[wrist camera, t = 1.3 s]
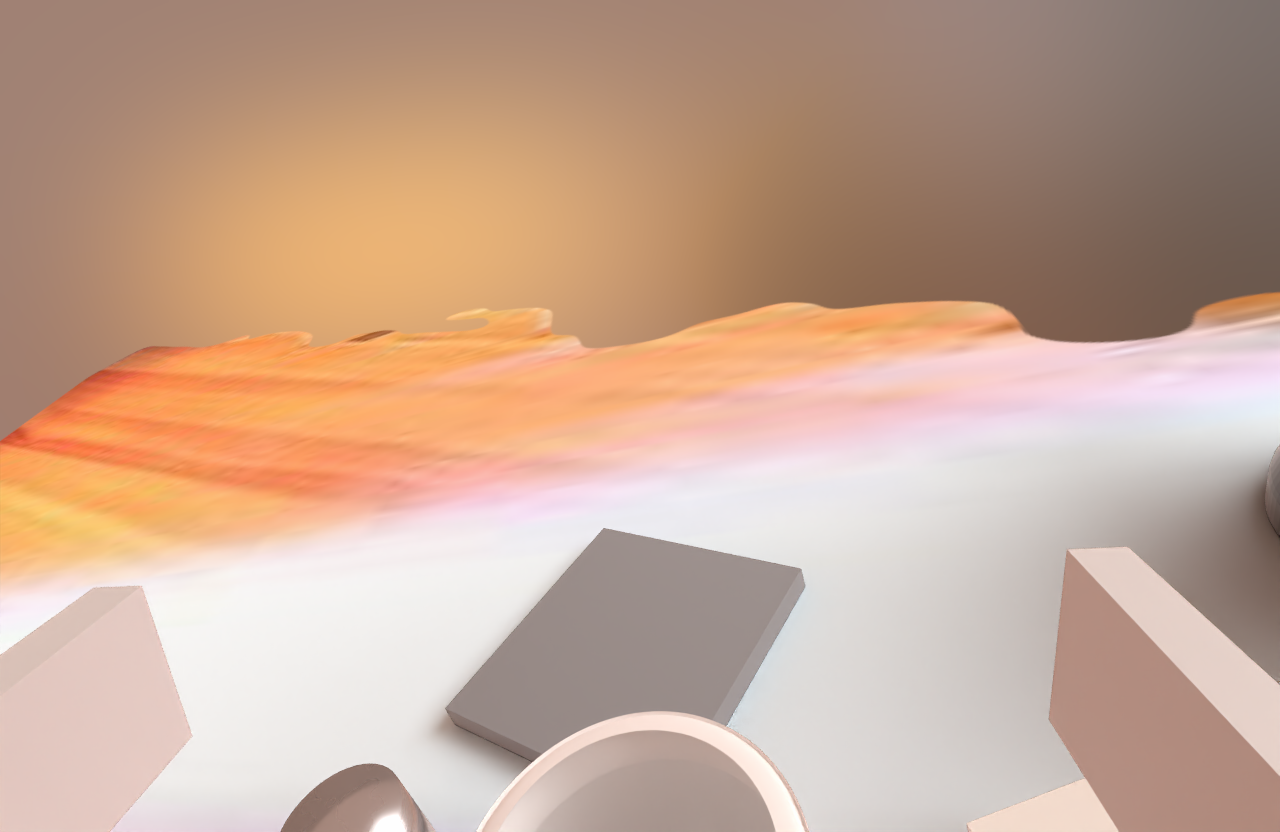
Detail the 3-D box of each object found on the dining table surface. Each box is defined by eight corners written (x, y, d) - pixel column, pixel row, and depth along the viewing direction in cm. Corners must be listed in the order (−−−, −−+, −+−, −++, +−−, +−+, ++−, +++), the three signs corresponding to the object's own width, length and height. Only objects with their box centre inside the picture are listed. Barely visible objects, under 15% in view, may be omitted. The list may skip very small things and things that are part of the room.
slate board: (805, 586, 48) (801, 568, 47) (668, 827, 37) (659, 809, 36) (609, 543, 58) (603, 528, 57) (455, 724, 47) (445, 708, 46)
